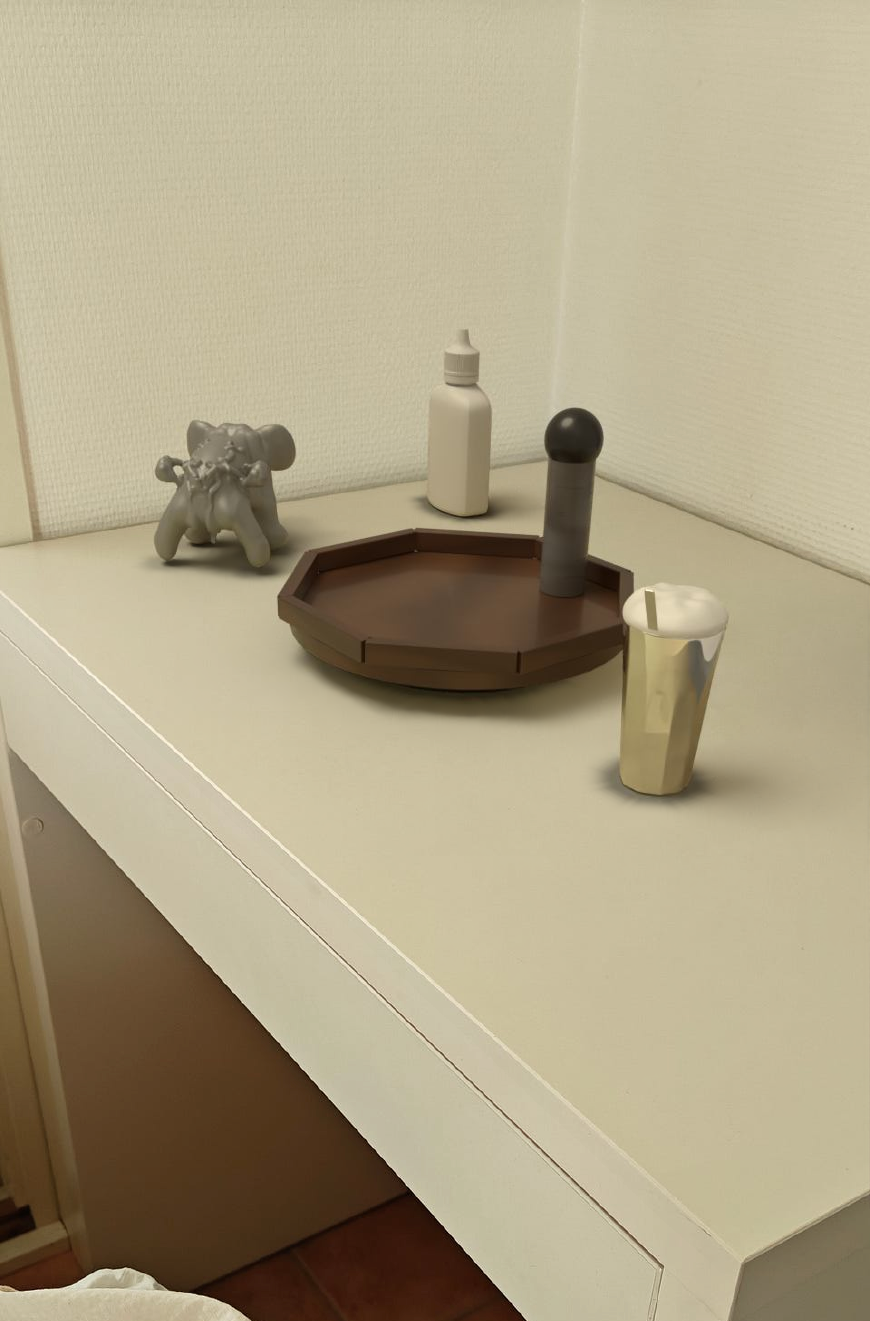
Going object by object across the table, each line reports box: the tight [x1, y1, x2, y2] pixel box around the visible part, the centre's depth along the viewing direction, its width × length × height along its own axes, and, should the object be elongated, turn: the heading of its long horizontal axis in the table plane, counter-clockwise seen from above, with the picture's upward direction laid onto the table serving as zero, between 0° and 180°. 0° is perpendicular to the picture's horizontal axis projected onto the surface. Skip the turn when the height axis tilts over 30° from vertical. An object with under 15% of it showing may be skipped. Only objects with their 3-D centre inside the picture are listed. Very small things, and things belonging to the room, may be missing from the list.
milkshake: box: [618, 582, 729, 796], centre depth 61 cm, size 4×5×10 cm
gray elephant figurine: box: [153, 419, 297, 568], centre depth 89 cm, size 9×12×8 cm
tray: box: [276, 406, 635, 690], centre depth 73 cm, size 19×19×11 cm
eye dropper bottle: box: [426, 327, 493, 517], centre depth 96 cm, size 4×6×12 cm
